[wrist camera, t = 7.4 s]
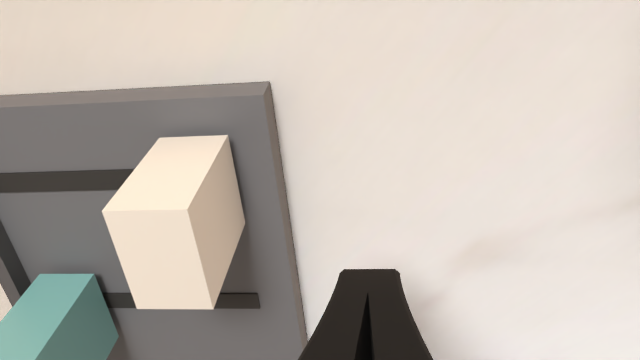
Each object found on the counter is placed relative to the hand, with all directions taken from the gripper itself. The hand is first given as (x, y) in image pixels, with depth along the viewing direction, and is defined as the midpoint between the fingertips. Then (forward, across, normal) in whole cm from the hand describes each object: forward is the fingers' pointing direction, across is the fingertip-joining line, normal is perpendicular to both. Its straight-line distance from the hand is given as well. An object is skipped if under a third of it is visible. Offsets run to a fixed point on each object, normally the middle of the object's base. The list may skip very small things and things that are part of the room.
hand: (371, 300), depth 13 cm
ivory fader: (+6, +6, 0) cm, 8 cm away
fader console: (+8, +10, +4) cm, 13 cm away
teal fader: (+6, +13, +6) cm, 15 cm away
